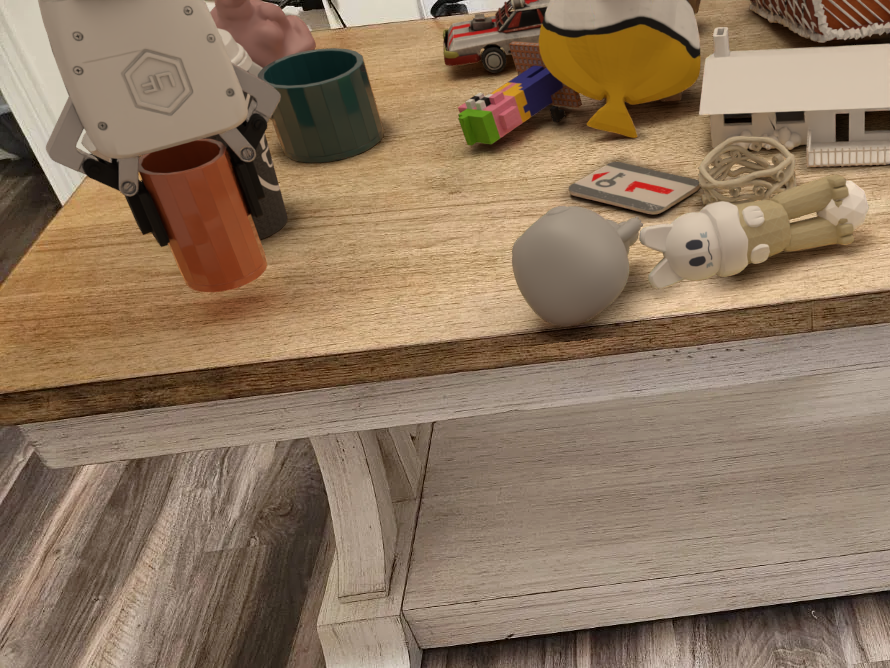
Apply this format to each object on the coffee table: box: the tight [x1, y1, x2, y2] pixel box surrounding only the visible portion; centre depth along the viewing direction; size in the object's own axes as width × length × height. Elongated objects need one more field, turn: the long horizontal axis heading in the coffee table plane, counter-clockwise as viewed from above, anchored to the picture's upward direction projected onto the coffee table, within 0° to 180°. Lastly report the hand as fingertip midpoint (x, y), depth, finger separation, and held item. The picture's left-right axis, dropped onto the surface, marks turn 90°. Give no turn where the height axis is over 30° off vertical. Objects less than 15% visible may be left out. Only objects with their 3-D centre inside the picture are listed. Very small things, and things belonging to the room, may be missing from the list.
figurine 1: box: [209, 0, 317, 68], centre depth 115 cm, size 9×11×12 cm
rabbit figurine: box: [638, 174, 870, 290], centre depth 84 cm, size 5×10×18 cm
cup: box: [139, 139, 268, 293], centre depth 81 cm, size 6×6×9 cm
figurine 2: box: [457, 42, 583, 146], centre depth 104 cm, size 7×6×12 cm
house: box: [698, 26, 890, 168], centre depth 99 cm, size 25×24×7 cm
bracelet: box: [697, 136, 797, 206], centre depth 91 cm, size 4×8×8 cm
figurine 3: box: [511, 205, 644, 327], centre depth 80 cm, size 8×8×12 cm
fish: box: [539, 0, 702, 139], centre depth 103 cm, size 20×12×15 cm
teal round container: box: [258, 47, 385, 164], centre depth 105 cm, size 10×10×7 cm
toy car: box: [442, 0, 550, 74], centre depth 117 cm, size 8×18×8 cm, turn 101°
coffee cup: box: [203, 28, 289, 241], centre depth 90 cm, size 10×10×15 cm
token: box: [568, 161, 701, 215], centre depth 95 cm, size 7×1×10 cm
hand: (207, 222), depth 81 cm, fingers closed on cup, 6 cm apart
